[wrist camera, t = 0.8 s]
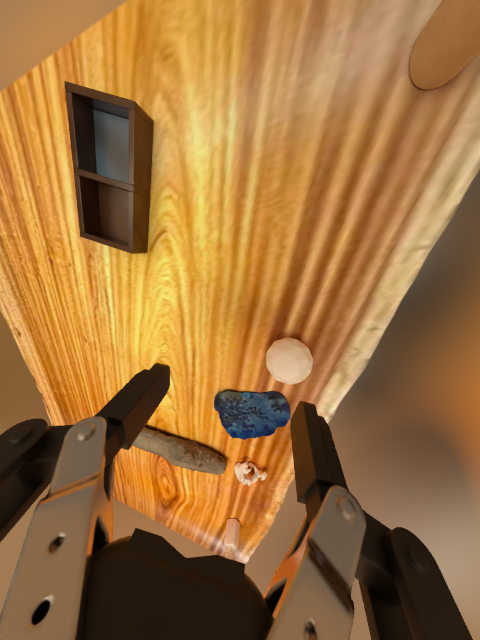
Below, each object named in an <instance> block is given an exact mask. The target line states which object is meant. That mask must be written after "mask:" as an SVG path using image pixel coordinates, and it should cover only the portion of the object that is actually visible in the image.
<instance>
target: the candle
mask: <svg viewBox="0 0 480 640" xmlns="http://www.w3.org/2000/svg"><path fill="white" fill-rule="evenodd" d="M479 54H480V0H443V1H442V3H441V4H440V6H439V7H438V8H437V10H436V11H435V13H434V14H433V16H432V17H431V19H430V20H429V22H428V23H427V24H426V26H425V27H424V29H423V30H422V32H421V34H420V35H419V37H418V39H417V41H416V43H415V45H414V48H413V50H412V54H411V57H410V64H409V72H410V77H411V79H412V81H413V83H414V84H415V85H416V86H417V87H419V88H421V89H425V90H429V89H435V88H437V87H440V86H442V85H443V84H445V83H447V82H448V81H449V80H451V79H452V78H453V77H455V76H456V75H457V74H458V73H459V72H460V71H461V70H462V69H463V68H465V67H466V66H467V65H468V64H469V63H470V62H471V61H472V60H473V59H474V58H475V57H476V56H478V55H479Z"/></svg>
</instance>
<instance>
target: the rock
mask: <svg viewBox="0 0 480 640" xmlns="http://www.w3.org/2000/svg"><path fill="white" fill-rule="evenodd" d="M214 408H215V409H216V411H218V412H219V417H220V419H221V423H222V425H223V426H224V428H225V429H226V431H227V432H228V433H229V434H230V436H231V437H232V438H240V439H244V440H245V439H247V438H251V437H252V438H256V437H261V436H269V435H272V434H273V433H274V432H275V429H276V428H277V427H282V426H285V425H286V424H287V422H288V420H289V419H290V410H289V406H288V404H287V402H286V400H285V399H284V396H283V395H281V394H280V393H278V392H275V391H273V392H271V391H269V392H263V393H261V394H259V393H256V392H255V393H253V392H251V393H249V392H246V393H245V392H244V393H241V392H240V393H239V392H237V393H236V392H232V391H230V392H229V391H228V390H227V391H226V392H223V393H220V394H217V395H216V397H215V400H214Z"/></svg>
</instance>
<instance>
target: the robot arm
mask: <svg viewBox="0 0 480 640" xmlns="http://www.w3.org/2000/svg"><path fill="white" fill-rule="evenodd" d="M169 386H170V367H169V366H168V365H164V364H160V363H156V364H154V365H153V367H152V368H151V369H150V370H146V369H145V370H143V371H141V372H139V373H137V374H136V375H135V376H134V377H133V378H132V379H131V380H130V381H129V383H127V384H126V385H125V386H124V387H123V389H121V390H120V391H119V392H118V393H117V394H116V395H115V396H114V397H113V398H112V399H111V400H110V401H109V402H108V403H107V404H106V405H105V406H104V407H103V408H102V409H101V410H100V412H98V413H97V414H96V415H95V416H92V417H88V418H85V419H83V420H81V421H79V422H78V423H76V424H75V425H65V426H48V424H47V422H46V421H45V420H43V419H30V420H26V421H23V422H21V423H18V424H17V425H15V426H13V427H11V428H9V429H8V430H7V431H5V432H4V433H3V434H1V435H0V542H1V541H2V540H3V539H4V537H5V536H6V535H7V534H8V533H9V531H10V530H11V529H12V528H13V527H14V526H15V524H16V523H17V522H18V521H19V520H20V518H21V517H22V516H23V515H24V514H25V512H26V511H27V510H28V509H29V508H30V506H31V505H32V504H33V503H34V502H35V501H36V499H37V498H38V497H39V496H40V495H41V493H42V492H43V491H44V490H45V489H46V487H47V486H48V485H49V484H50V483H51V485H50V489H49V491H48V494H47V495H46V497H45V498H43V499H42V500H40V501H39V503H38V504H37V506H36V508H35V510H34V513H33V516H32V519H31V522H30V525H29V528H28V531H27V534H26V538H25V540H24V544H23V547H22V550H21V553H20V556H19V559H18V562H17V565H16V569H15V572H14V575H13V578H12V581H11V584H10V587H9V590H8V593H7V597H6V599H5V602H4V606H3V609H2V612H1V615H0V640H349V639H350V634H351V630H352V625H353V619H354V603H353V601H352V599H351V589H352V585H353V580H354V577H355V578H357V579H358V580H359V585H360V589H361V594H362V599H363V603H364V608H365V612H366V617H367V621H368V626H369V631H370V635H371V640H473V639H472V637H471V635H470V633H469V631H468V629H467V626H466V625H465V622H464V620H463V618H462V616H461V614H460V612H459V609H458V607H457V605H456V603H455V601H454V599H453V597H452V595H451V592H450V590H449V588H448V586H447V584H446V582H445V580H444V577H443V575H442V573H441V571H440V569H439V567H438V565H437V563H436V561H435V559H434V558H433V556H432V554H431V553H430V552H429V550H428V549H427V547H426V546H425V545H424V544H423V543H422V542H421V541H420V539H418V538H417V537H416V536H415V535H414V534H413V533H411V532H410V531H408V530H407V529H405V528H401V527H397V528H395V529H393V530H390V529H389V528H388V527H386V526H385V525H383V524H382V523H380V522H379V521H377V520H376V519H374V518H373V517H372V516H370V515H369V514H367V513H366V512H365V511H364V510H363V509H362V508H361V506H360V504H359V502H358V501H357V500H356V498H355V497H354V496H353V495H352V494H351V493H350V492H349V490H348V487H347V485H346V481H345V478H344V475H343V471H342V468H341V464H340V461H339V458H338V454H337V451H336V449H335V444H334V441H333V440H332V435H331V431H330V428H329V426H328V424H327V423H326V421H325V420H324V418H323V417H321V416H318V414H317V411H316V407H315V405H314V404H311V403H307V402H303V401H300V402H299V404H298V406H297V408H296V410H295V412H294V414H293V416H292V418H291V425H290V428H291V439H292V449H293V459H294V470H295V480H296V491H297V501H298V502H300V503H303V504H306V511H307V514H306V515H305V517H304V519H303V521H302V523H301V525H300V527H299V529H298V531H297V534H296V535H295V537H294V540H293V541H292V544H291V546H290V547H289V549H288V551H287V553H286V555H285V558H284V560H283V561H282V563H281V564H280V566H279V567H278V569H277V570H276V572H275V574H274V576H273V577H272V579H271V581H270V583H269V585H268V587H267V589H266V591H265V593H264V595H263V596H262V594H261V593H260V591H259V590H258V588H257V586H256V585H255V583H254V582H253V581H252V580H251V579H250V578H249V577H248V576H247V575H246V574H245V573H244V569H245V564H243V563H240V562H237V561H234V560H231V559H228V558H225V557H222V556H219V555H212V556H202V557H194V558H186V557H184V556H182V555H181V554H180V553H179V552H178V551H177V550H176V549H175V548H174V547H173V546H172V545H170V544H169V543H168V542H167V541H166V540H165V539H164V538H163V537H161V536H159V535H156V534H153V533H149V532H146V531H143V530H140V529H137V528H135V531H134V533H133V535H132V536H127V537H124V538H120V539H118V540H115V541H113V542H112V539H113V505H112V504H113V487H114V472H115V456H116V455H117V453H118V452H119V450H120V449H121V448H123V449H126V450H129V449H130V447H131V446H132V444H133V443H134V441H135V440H136V438H137V437H138V435H139V434H140V432H141V431H142V429H143V428H144V426H145V425H146V423H147V422H148V420H149V419H150V417H151V416H152V414H153V413H154V411H155V410H156V408H157V407H158V405H159V404H160V402H161V401H162V399H163V398H164V396H165V395H166V393H167V391H168V389H169Z"/></svg>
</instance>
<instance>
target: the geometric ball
mask: <svg viewBox="0 0 480 640" xmlns="http://www.w3.org/2000/svg"><path fill="white" fill-rule="evenodd" d="M312 365H313V358H312V356H311V353H310V351H309V348H308V347H306V346H305V345H304V344H303V343H302V342H300V341H299V340H297V339H293V338H289V337H287V338H283V339H280V340H277V341H274V343H273V344H272V345H271V347H270V348H269V350H268V351H267V352H266V366H267V369H268V370H269V371H270V373H271V374H272V376H273V377H274V379H275V380H277V381H280V382H283V383H286V384H289V385H291V384H295V383H300V382H301V381H303V380H304V379H305V378H306V377H307V376H308V375H309V374H310V372H311V368H312Z"/></svg>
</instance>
